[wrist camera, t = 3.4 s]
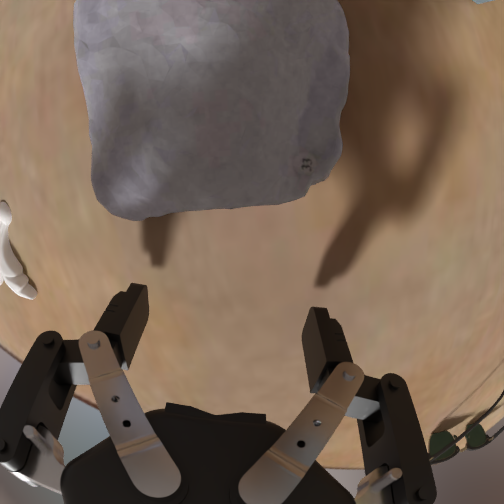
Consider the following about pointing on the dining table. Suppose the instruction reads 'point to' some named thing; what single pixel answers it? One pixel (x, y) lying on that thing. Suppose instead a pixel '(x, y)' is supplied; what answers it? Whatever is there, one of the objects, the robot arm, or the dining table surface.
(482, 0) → the block
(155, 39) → the stone block
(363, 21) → the dining table surface
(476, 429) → the sunglasses
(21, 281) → the acanthus leaf ornament
